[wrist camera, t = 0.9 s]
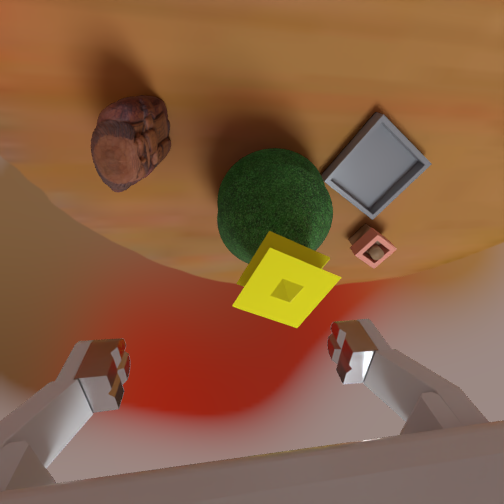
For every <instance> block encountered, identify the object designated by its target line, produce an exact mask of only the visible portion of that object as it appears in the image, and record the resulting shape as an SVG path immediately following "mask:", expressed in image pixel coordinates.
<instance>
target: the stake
mask: <svg viewBox="0 0 504 504" xmlns="http://www.w3.org/2000/svg"><path fill="white" fill-rule="evenodd" d="M370 228H371V227H370V226H368V225H367V224H365V225H364V226H362V227H361V228H360V229H359V230H358V231H357V232H356V233H355V234H354V235H353V236H352V237H351V238H350V239H349V241H350V243H351V244H352V245H353V244H354V243H355V242H356V241H358V240H359V239H360V238H361V237H362V236H363V235H364V234H365V233H366V232H367V231H368V230H369V229H370ZM380 245H381V243H380V242H378V241H376V242H375V243H374V244H373V245H372V246H371V247H370V248H369V249H367V250H366V251H365V253H366V254H368V255H371V257H372V258H373V259H374V260H379V259H381V258H382V257H383V256H384V252H383V250H382V249H381V248H380V247H379V246H380Z"/></svg>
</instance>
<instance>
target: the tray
mask: <svg viewBox="0 0 504 504" xmlns="http://www.w3.org/2000/svg"><path fill="white" fill-rule="evenodd" d="M430 165H431V163H430V162H429V161H428V160H427V159H426V158H425V157H424V156H423V155H422V154H421V153H420V151H419V150H418V149H417V148H416V147H415V146H414V145H413V144H412V143H411V142H410V141H409V140H408V139H407V138H406V137H405V136H404V135H403V134H402V133H401V132H400V131H399V130H398V129H397V128H396V127H395V126H394V125H393V124H392V123H391V122H390V121H389V120H388V119H387V118H386V117H385V116H384V114H380V113H377V112H375V114H374V115H373V116H372V117H371V118H370V119H369V120H368V122H367V123H366V124H365V125H364V126H363V127H362V129H361V130H360V131H359V132H358V133H357V134H356V135H355V137H354V138H353V139H352V140H351V141H350V142H349V144H348V145H347V146H346V147H345V148H344V149H343V151H342V152H341V153H340V154H339V155H338V156H337V157H336V159H335V160H334V161H333V162H332V163H331V164H330V166H329V167H328V168H327V169H326V170H325V171H324V172H323V174H322V175H321V177H322V179H323V181H324V182H325V183H327V184H328V185H329V186H330V187H332V188H333V189H334V190H335V191H337V192H338V193H339V194H341V195H342V196H343V197H344V198H346V199H347V200H348V201H349V202H351V203H352V204H353V205H354V206H356V207H357V208H358V209H359V210H361V211H362V212H363V213H365V214H366V215H367V216H368V217H370V218H371V219H372V220H373V219H374V218H375V217H376V216H377V215H378V214H379V213H380V212H381V211H382V210H383V209H385V208H386V207H387V206H388V205H389V204H390V203H391V202H392V201H393V200H394V199H395V198H396V197H397V196H398V195H399V194H400V193H401V192H403V191H404V190H405V189H406V188H407V187H408V186H409V185H410V184H411V183H412V182H413V181H414V180H415V179H416V178H417V177H418V176H419V175H420V174H422V173H423V172H424V171H425V170H426V169H427V168H428V167H429V166H430Z"/></svg>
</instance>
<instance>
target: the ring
mask: <svg viewBox="0 0 504 504" xmlns="http://www.w3.org/2000/svg"><path fill="white" fill-rule="evenodd" d="M376 241H378V242H380V243H381V245H380V246H379V247H380V248H381V249H382V250H383V252H384V256H383V257H382V258H381V259H379V260H374V259H373V258H372V257H371V255H368V254H366V253H365V251H366V250H367V249H369V248H370V247H371V246H372V245H373V244H374V243H375V242H376ZM350 248H351V250H352V252H353V253H354V255H355V256H356V257H358V258H359V259H361V260H362V261H364V262H365V263H366V264H368V265H369V266H371V267H372V268H375V267H377V266H378V265H379V264H380V263H381V262H382V261H384V260H385V259H386V258H387V257H388V256H390V255H391V254H392V253H393V252H394V251H396V250H397V249H396V247H395V246H394V245H393V244H392V243H391V242H390V241H389V240H388V239H386V238H385V237H384V236H382V235H381V234H380V233H379V232H377V231H376V230H375V229H373V228H372V227H371V228H370V229H369V230H368V231H367V232H366V233H365V234H364V235H363V236H362V237H361V238H360V239H359V240H358V241H356V242H355V243H354V244H353V245H352V246H351V247H350Z"/></svg>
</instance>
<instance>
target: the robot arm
mask: <svg viewBox="0 0 504 504" xmlns="http://www.w3.org/2000/svg"><path fill="white" fill-rule="evenodd" d="M331 331H332V334H331V335H330V336H329V337H328V341H327V346H328V352H329V355H330V357H331V359H332V361H334V362H335V363H336V364H337V368H336V370H337V373H338V375H339V377H340V379H341V381H342V383H343V384H353V383H364V385H366V386H367V387H368V388H369V389H370V390H371V391H372V392H373V393H374V394H376V395H377V396H378V397H379V398H380V399H381V400H382V401H383V402H384V403H386V404H387V405H388V406H389V407H390V408H391V409H392V410H393V411H395V412H396V413H397V414H398V415H399V416H400V417H401V418H402V419H403V420H405V421H406V423H405V425H404V427H403V429H402V430H401V433H400V435H397V436H389V437H382V438H376V439H368V440H362V441H354V442H347V443H340V444H333V445H326V446H318V447H312V448H304V449H297V450H290V451H282V452H276V453H269V454H262V455H254V456H248V457H240V458H234V459H226V460H219V461H212V462H205V463H197V464H190V465H184V466H176V467H169V468H162V469H156V470H148V471H141V472H134V473H126V474H120V475H112V476H105V477H98V478H91V479H84V480H77V481H70V482H63V483H56V482H55V480H54V479H53V477H52V476H51V474H50V473H49V472H48V470H47V469H46V468H47V467H48V466H49V465H50V463H51V462H52V461H53V460H54V459H55V458H56V457H57V455H58V454H59V453H60V452H61V451H62V450H63V448H64V447H65V446H66V445H67V444H68V443H69V442H70V440H71V439H72V438H73V437H74V436H75V434H76V433H77V432H78V431H79V430H80V429H81V428H82V426H83V425H84V424H85V423H86V422H87V421H88V419H89V418H90V417H91V416H92V415H93V413H94V412H101V411H109V410H116V409H119V407H120V404H121V400H122V397H123V393H124V389H123V386H122V385H123V384H124V383H125V382H126V381H127V380H128V376H129V372H130V357H129V354H128V353H127V352H125V348H126V343H125V340H124V339H104V340H91V341H79V342H78V343H76V344H75V346H74V348H73V350H72V351H71V353H70V355H69V357H68V359H67V361H66V362H65V365H64V366H63V368H62V370H61V372H60V373H59V375H58V377H57V379H56V381H54V382H50V383H48V384H47V385H46V386H44V387H43V388H42V389H41V390H39V391H38V392H37V393H36V394H34V395H33V396H32V397H30V398H29V399H28V400H27V401H25V402H24V403H23V404H21V405H20V406H19V407H18V408H16V409H15V410H14V411H12V412H11V413H10V414H9V415H7V416H6V417H5V418H3V419H2V420H1V421H0V504H504V420H503V421H496V422H489V421H488V420H487V419H486V418H485V417H484V416H483V414H482V413H481V412H480V411H479V410H478V409H477V407H476V406H475V405H474V404H473V403H472V402H471V400H470V399H469V398H468V397H467V396H466V395H465V393H464V392H463V391H462V390H461V389H460V388H459V387H457V386H456V385H454V384H452V383H451V382H449V381H448V380H446V379H444V378H442V377H441V376H439V375H437V374H436V373H434V372H432V371H431V370H429V369H427V368H426V367H424V366H423V365H421V364H419V363H418V362H416V361H414V360H413V359H411V358H409V357H408V356H406V355H404V354H403V353H401V352H399V351H398V350H396V349H391V348H390V346H389V345H388V343H387V342H386V341H385V339H384V338H383V336H382V335H381V334H380V332H379V331H378V330H377V328H376V327H375V326H374V324H373V323H372V321H371V320H369V319H361V320H349V321H337V322H333V323H332V324H331Z"/></svg>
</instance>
